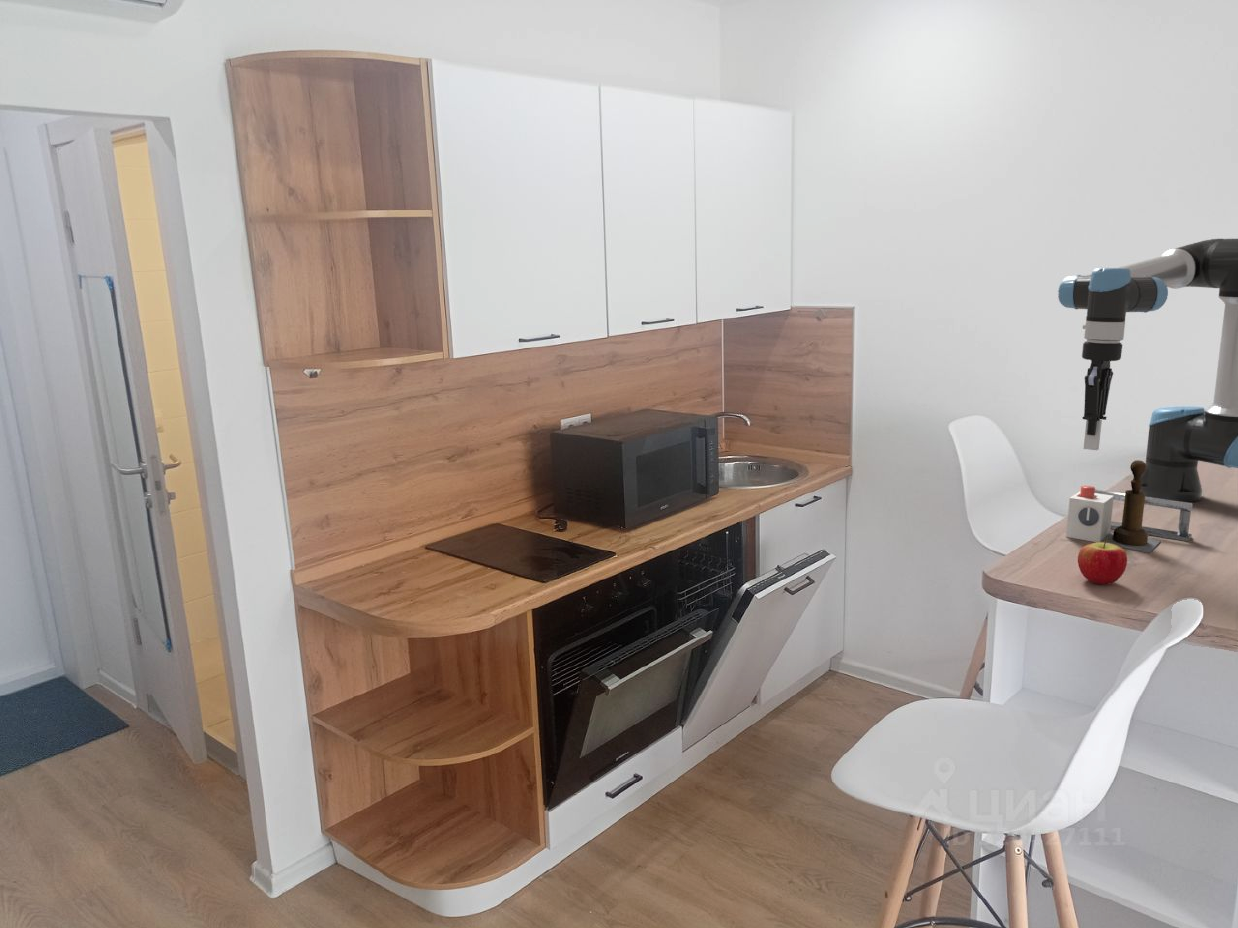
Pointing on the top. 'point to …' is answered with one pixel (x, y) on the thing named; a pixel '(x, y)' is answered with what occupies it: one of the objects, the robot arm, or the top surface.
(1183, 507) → the handrail
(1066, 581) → the top surface
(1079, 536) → the white dial box
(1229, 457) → the robot arm
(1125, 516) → the brown wooden tall piece
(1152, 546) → the pad
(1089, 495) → the button
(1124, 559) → the apple
